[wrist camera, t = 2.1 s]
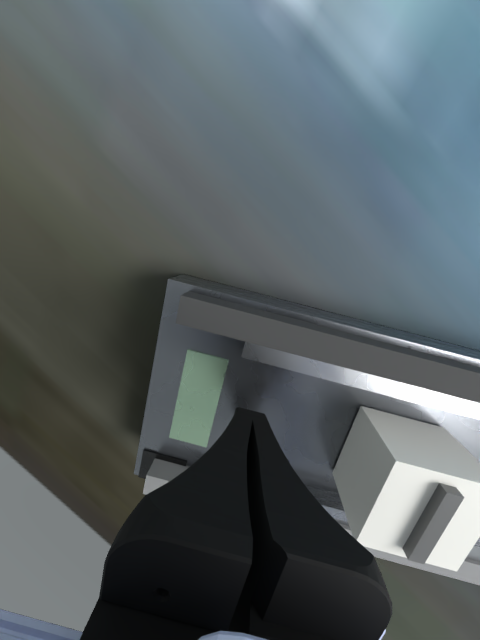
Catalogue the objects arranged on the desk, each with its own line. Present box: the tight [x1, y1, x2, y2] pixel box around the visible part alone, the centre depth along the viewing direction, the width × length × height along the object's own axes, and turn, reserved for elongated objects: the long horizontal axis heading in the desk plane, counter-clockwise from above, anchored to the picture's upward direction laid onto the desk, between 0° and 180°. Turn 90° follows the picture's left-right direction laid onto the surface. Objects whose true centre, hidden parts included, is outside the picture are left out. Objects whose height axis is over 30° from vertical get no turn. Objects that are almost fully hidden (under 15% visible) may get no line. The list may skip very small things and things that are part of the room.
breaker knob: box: [332, 406, 480, 571], centre depth 11 cm, size 4×4×4 cm
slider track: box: [134, 274, 480, 561], centre depth 14 cm, size 11×24×4 cm, turn 76°
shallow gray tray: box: [143, 291, 480, 585], centre depth 12 cm, size 10×22×1 cm, turn 76°
